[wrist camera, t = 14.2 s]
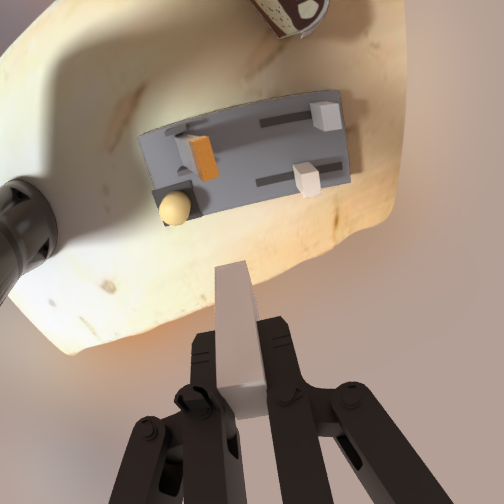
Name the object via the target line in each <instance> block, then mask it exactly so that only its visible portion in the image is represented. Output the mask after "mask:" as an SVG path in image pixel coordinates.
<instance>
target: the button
mask: <svg viewBox="0 0 504 504" xmlns="http://www.w3.org/2000/svg"><path fill="white" fill-rule="evenodd" d="M190 208H191V201H190V199H189V197H188V196H187V195H186V194H185V193H183V192H181V191H172V192H169V193H168V194H167V195H166V196H165V197H164V199H163V201H162V203H161V205H160V207H159V215H160V217H161V219H162V220H163V221H164V222H165V223H167V224H169V225H172V226H177V225H181V224H183V223H184V222H185V221H186V220H187V218H188V216H189V212H190Z"/></svg>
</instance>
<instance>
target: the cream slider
mask: <svg viewBox="0 0 504 504" xmlns="http://www.w3.org/2000/svg"><path fill="white" fill-rule="evenodd" d="M293 170H294V176H295V181H296V186H297V188H298V189H299V191H300V192H301V194H302V195H303V197H304V198H308V197H313V196H317V195H322V194H321V186H320V179H319V171H318V170H317V169H316V168H315V167H314V166H313V165H312V164H311V163H310V162H304V163H299V164H294V165H293Z"/></svg>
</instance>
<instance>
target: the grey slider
mask: <svg viewBox="0 0 504 504" xmlns="http://www.w3.org/2000/svg"><path fill="white" fill-rule="evenodd" d="M310 109H311V114H312V120H313V126H314V127H316V128H318V129H320V130H322V131H324V132H325V131H331V130H338V129H342V124H341V117H340V111H339V104H338V103H333V102H328V101H323V102H316V103H310Z"/></svg>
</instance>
